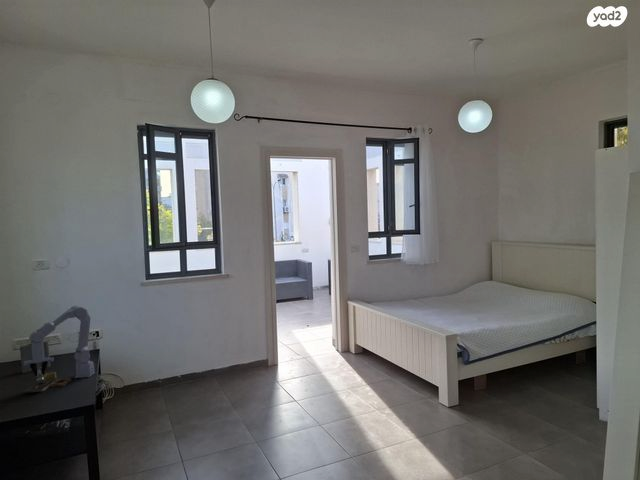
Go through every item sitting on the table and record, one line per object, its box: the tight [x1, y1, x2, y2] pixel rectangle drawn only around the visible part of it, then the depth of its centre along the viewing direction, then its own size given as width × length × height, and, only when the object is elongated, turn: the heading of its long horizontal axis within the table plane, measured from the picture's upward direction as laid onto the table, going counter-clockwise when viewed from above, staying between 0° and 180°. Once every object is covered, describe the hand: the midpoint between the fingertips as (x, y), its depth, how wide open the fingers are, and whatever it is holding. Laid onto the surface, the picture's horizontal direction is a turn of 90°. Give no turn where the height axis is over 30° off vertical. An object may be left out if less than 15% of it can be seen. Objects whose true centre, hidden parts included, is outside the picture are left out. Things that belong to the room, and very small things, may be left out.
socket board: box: [34, 380, 55, 392], centre depth 249 cm, size 9×12×2 cm
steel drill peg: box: [36, 367, 44, 382], centre depth 248 cm, size 4×4×7 cm
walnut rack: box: [50, 378, 72, 388], centre depth 253 cm, size 8×8×2 cm
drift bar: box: [22, 371, 58, 394], centre depth 249 cm, size 20×8×4 cm, turn 4°
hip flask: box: [19, 340, 51, 374], centre depth 284 cm, size 16×4×20 cm, turn 132°
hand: (40, 375), depth 248 cm, fingers closed on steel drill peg, 3 cm apart
